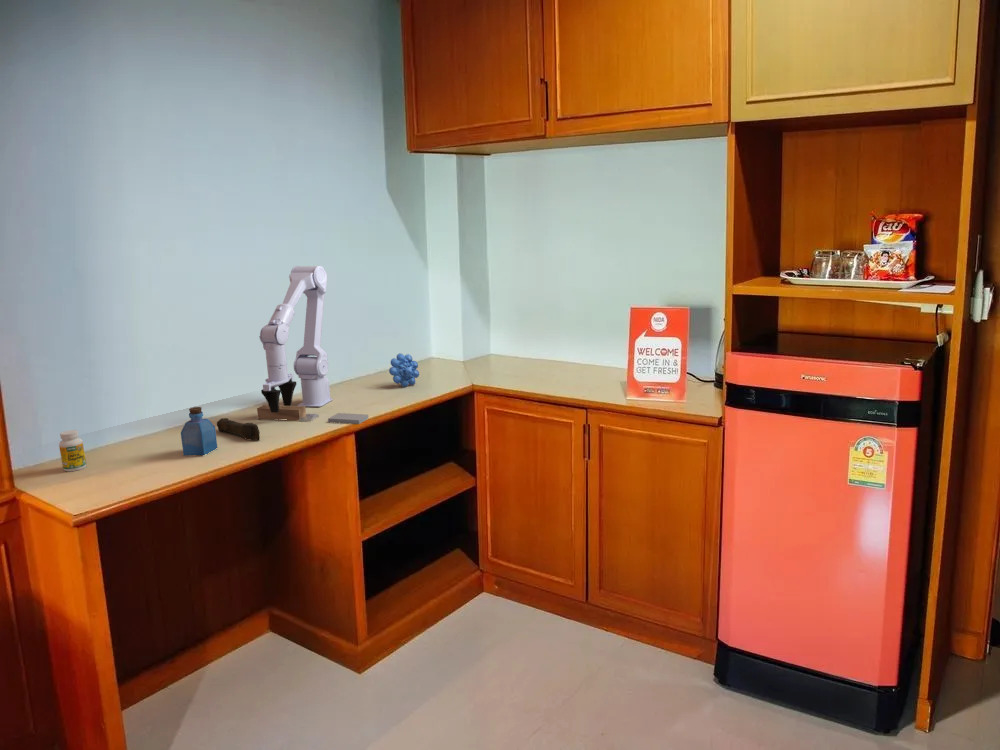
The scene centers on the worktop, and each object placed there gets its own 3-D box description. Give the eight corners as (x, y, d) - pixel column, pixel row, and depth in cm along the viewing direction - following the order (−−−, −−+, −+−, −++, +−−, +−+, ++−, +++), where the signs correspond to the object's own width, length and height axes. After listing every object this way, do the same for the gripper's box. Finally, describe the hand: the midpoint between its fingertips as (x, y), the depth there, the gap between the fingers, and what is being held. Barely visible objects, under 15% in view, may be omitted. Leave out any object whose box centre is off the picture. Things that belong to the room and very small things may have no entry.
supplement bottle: (81, 463, 213) (75, 428, 211) (90, 467, 209) (84, 431, 207) (59, 469, 209) (53, 433, 207) (68, 473, 206) (62, 436, 203)
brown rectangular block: (265, 415, 254) (264, 404, 253) (319, 417, 249) (318, 406, 248) (257, 420, 249) (256, 408, 248) (311, 421, 244) (310, 410, 244)
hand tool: (217, 432, 238) (215, 417, 237) (229, 429, 240) (228, 414, 239) (250, 444, 225) (248, 428, 224) (263, 440, 227) (261, 424, 226)
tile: (338, 413, 248) (368, 414, 245) (338, 418, 248) (368, 419, 245) (328, 418, 242) (358, 420, 239) (328, 423, 243) (359, 425, 240)
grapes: (397, 392, 277) (395, 357, 274) (387, 388, 282) (384, 354, 279) (426, 386, 284) (424, 351, 281) (415, 383, 289) (413, 349, 286)
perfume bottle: (217, 448, 221) (212, 405, 218) (204, 456, 215) (199, 411, 212) (197, 448, 222) (191, 405, 220) (183, 455, 216) (177, 411, 214)
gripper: (277, 359, 254) (281, 402, 257) (251, 369, 240) (256, 414, 243) (298, 360, 252) (302, 403, 255) (273, 370, 238) (278, 415, 241)
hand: (281, 408), depth 249 cm, fingers open, 7 cm apart
